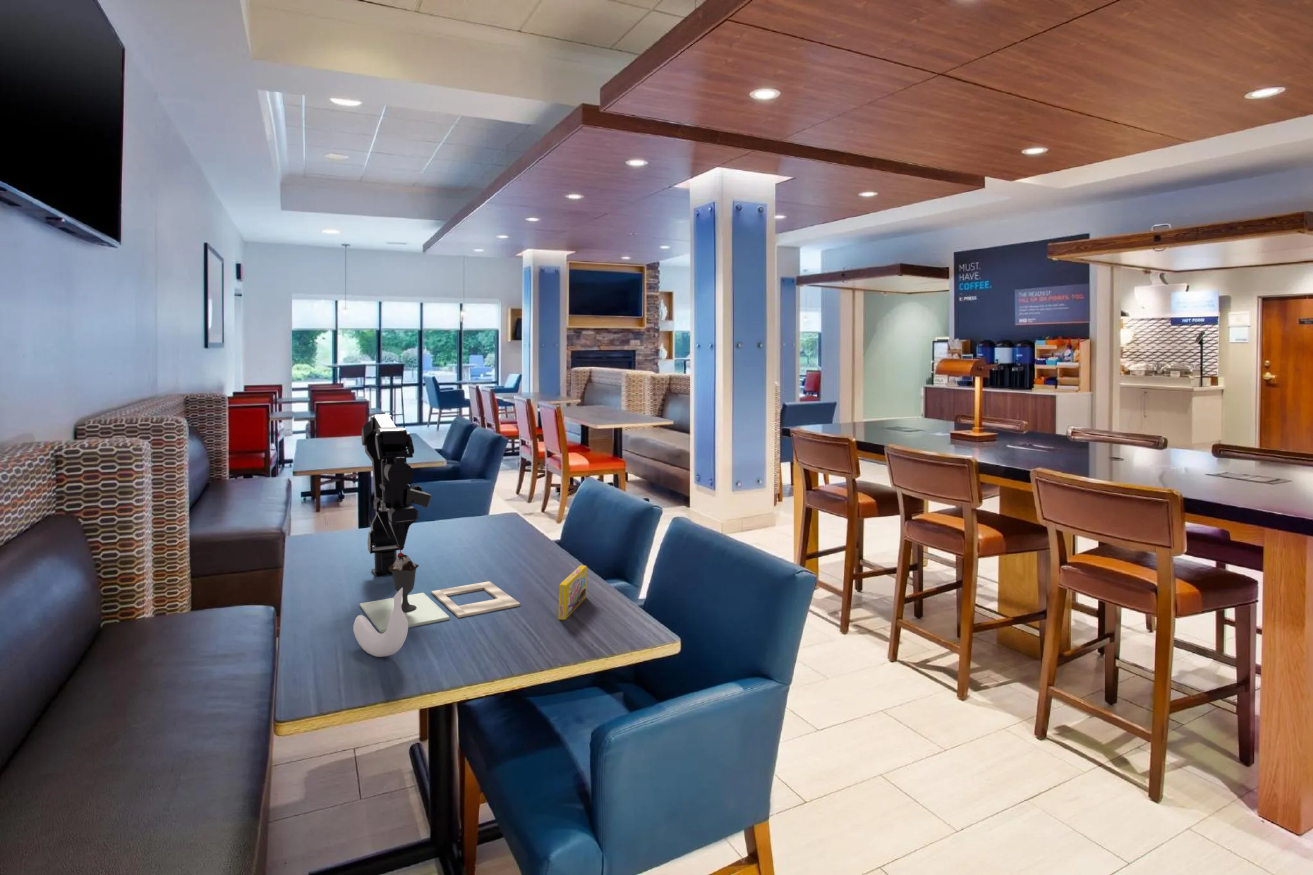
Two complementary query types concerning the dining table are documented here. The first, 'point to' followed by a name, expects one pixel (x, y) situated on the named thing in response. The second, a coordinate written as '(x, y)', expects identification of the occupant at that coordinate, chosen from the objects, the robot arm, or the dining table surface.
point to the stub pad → (420, 616)
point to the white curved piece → (390, 638)
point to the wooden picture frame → (498, 603)
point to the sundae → (404, 578)
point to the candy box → (572, 592)
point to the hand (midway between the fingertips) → (396, 542)
